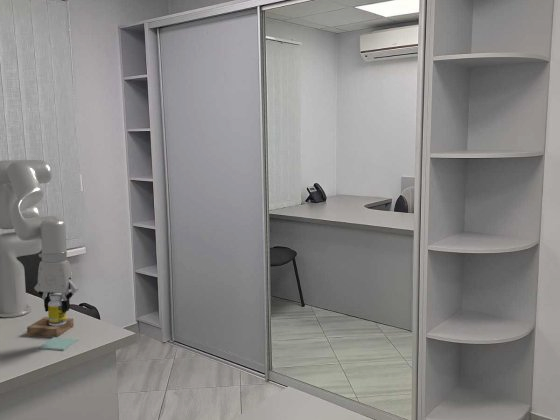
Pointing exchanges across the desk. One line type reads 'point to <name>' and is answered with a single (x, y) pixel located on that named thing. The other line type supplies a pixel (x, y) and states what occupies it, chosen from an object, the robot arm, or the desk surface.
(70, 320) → the can holder
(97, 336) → the desk surface
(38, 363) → the desk surface
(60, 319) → the supplement bottle
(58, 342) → the coaster plate
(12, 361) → the desk surface
